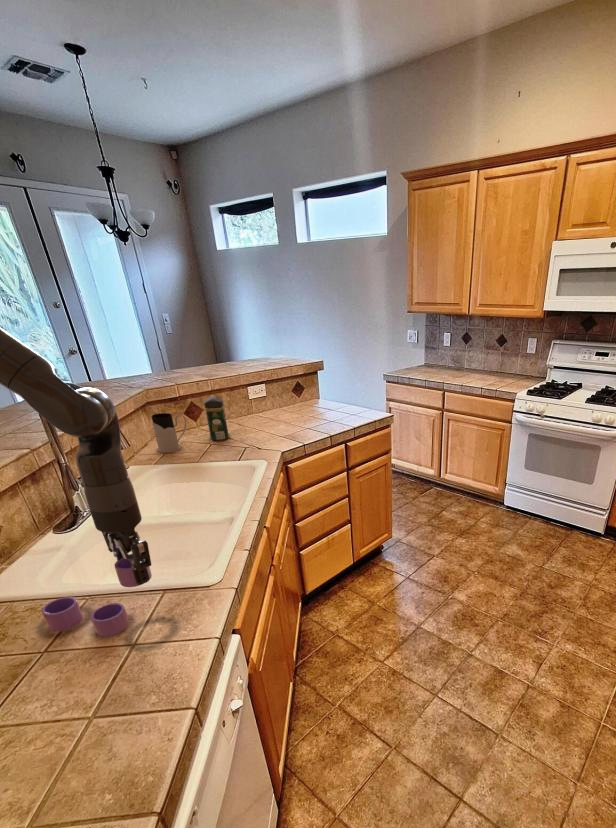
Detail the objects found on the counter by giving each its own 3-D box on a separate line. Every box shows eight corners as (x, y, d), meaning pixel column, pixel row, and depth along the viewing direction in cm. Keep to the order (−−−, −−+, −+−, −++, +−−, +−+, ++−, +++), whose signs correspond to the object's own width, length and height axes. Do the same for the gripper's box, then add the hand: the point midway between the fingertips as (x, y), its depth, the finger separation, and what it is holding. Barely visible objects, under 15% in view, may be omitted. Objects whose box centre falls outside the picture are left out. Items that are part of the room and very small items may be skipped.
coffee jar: (211, 435, 203) (204, 396, 195) (229, 434, 206) (222, 395, 197) (209, 441, 195) (202, 400, 187) (228, 440, 197) (221, 399, 189)
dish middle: (92, 630, 85) (85, 613, 83) (121, 615, 89) (116, 599, 87) (105, 642, 82) (98, 625, 80) (135, 626, 86) (129, 610, 84)
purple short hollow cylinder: (44, 623, 86) (36, 607, 84) (76, 609, 90) (69, 593, 88) (55, 635, 83) (48, 618, 81) (87, 620, 87) (81, 603, 85)
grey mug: (153, 450, 182) (145, 415, 176) (184, 442, 193) (177, 409, 186) (165, 454, 178) (157, 419, 171) (196, 446, 189) (189, 412, 182)
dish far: (114, 580, 86) (109, 563, 84) (143, 568, 90) (138, 551, 88) (128, 590, 83) (123, 573, 82) (157, 577, 88) (152, 560, 86)
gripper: (73, 498, 80) (99, 573, 88) (109, 520, 73) (134, 600, 80) (115, 485, 85) (136, 557, 93) (153, 505, 78) (173, 581, 86)
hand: (135, 576), depth 87 cm, fingers closed on dish far, 5 cm apart
